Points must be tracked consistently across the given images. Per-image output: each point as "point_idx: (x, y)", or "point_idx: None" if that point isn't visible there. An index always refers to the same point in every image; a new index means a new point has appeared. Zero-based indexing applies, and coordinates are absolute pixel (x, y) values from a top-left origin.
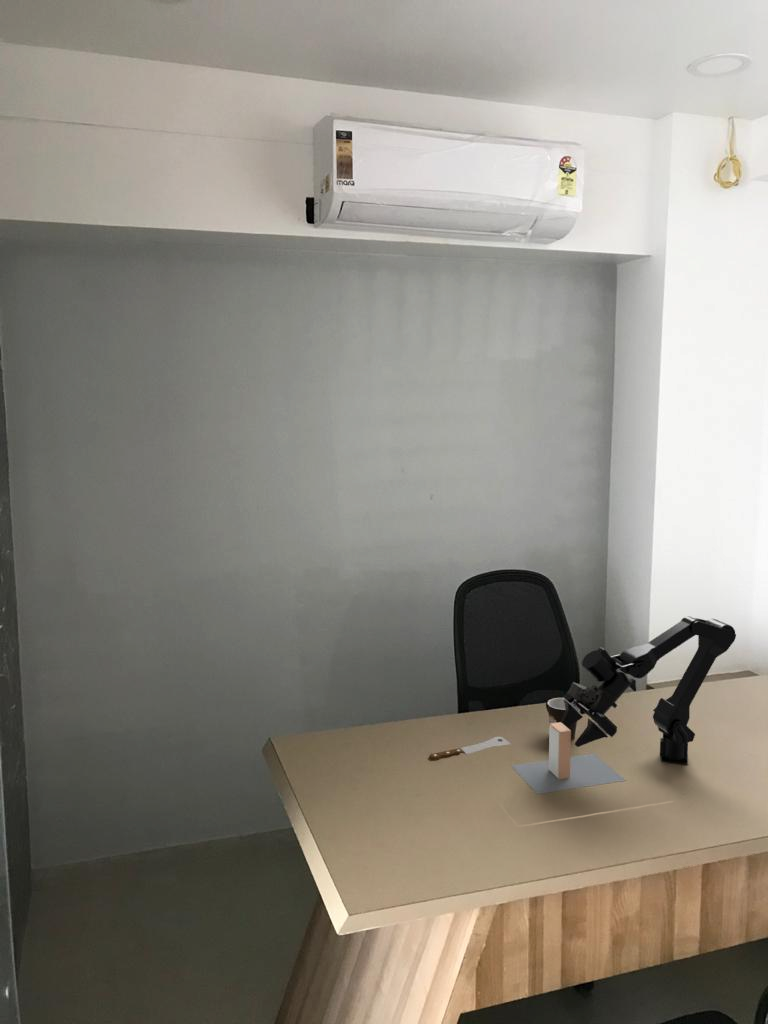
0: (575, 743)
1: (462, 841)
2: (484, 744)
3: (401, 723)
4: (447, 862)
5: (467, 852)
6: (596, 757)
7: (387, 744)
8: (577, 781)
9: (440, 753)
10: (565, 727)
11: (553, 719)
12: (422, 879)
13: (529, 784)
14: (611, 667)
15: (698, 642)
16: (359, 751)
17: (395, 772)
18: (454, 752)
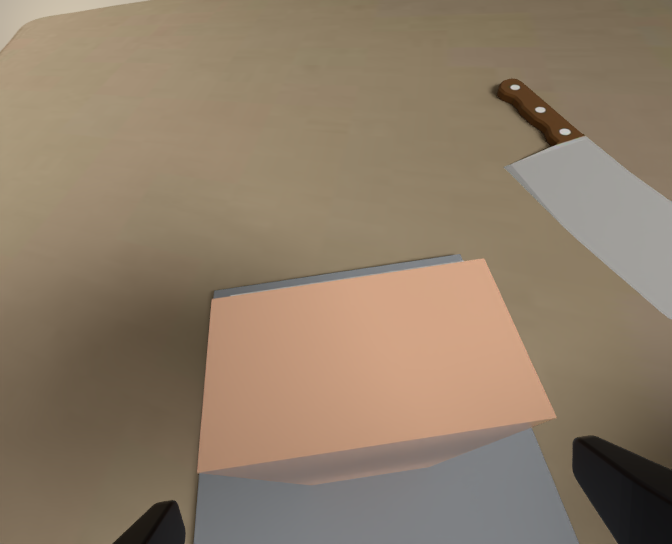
0: (155, 508)
1: (97, 112)
2: (648, 202)
3: None
4: (51, 91)
5: (56, 115)
6: None
7: (580, 31)
8: (260, 516)
9: (528, 96)
10: (335, 423)
11: None
12: (35, 67)
13: (290, 282)
14: None
15: None
16: (528, 4)
17: (423, 42)
18: (545, 122)
